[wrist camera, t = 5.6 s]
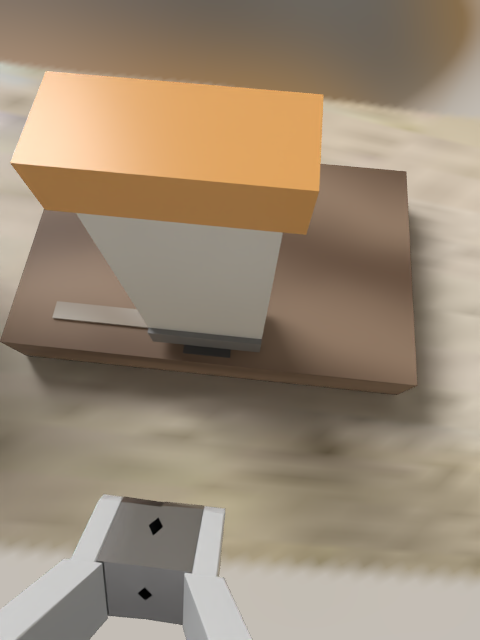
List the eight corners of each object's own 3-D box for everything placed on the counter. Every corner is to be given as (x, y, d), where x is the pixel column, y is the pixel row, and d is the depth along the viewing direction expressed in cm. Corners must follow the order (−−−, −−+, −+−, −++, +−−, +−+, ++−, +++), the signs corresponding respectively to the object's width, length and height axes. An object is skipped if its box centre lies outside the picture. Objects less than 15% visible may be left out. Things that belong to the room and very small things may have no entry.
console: (396, 394, 17) (418, 384, 15) (25, 355, 17) (-2, 340, 15) (390, 199, 20) (407, 169, 18) (82, 170, 21) (65, 139, 19)
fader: (270, 353, 15) (319, 191, 6) (142, 340, 15) (9, 162, 6) (274, 304, 15) (323, 94, 7) (152, 291, 15) (45, 70, 7)
